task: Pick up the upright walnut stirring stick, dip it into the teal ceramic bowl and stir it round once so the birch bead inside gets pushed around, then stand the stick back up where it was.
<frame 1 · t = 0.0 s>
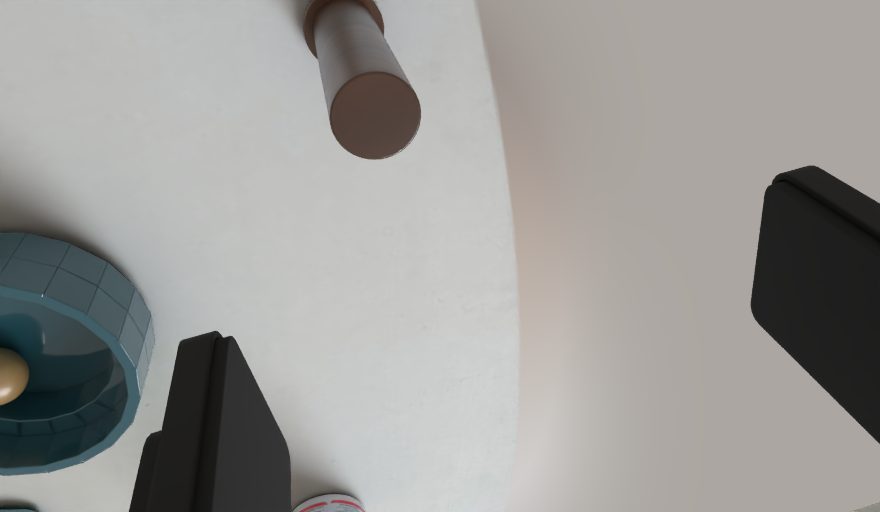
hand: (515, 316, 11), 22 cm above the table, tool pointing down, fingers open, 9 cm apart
bowl: (34, 323, 34), on the table
stirring stick: (343, 26, 29), on the table
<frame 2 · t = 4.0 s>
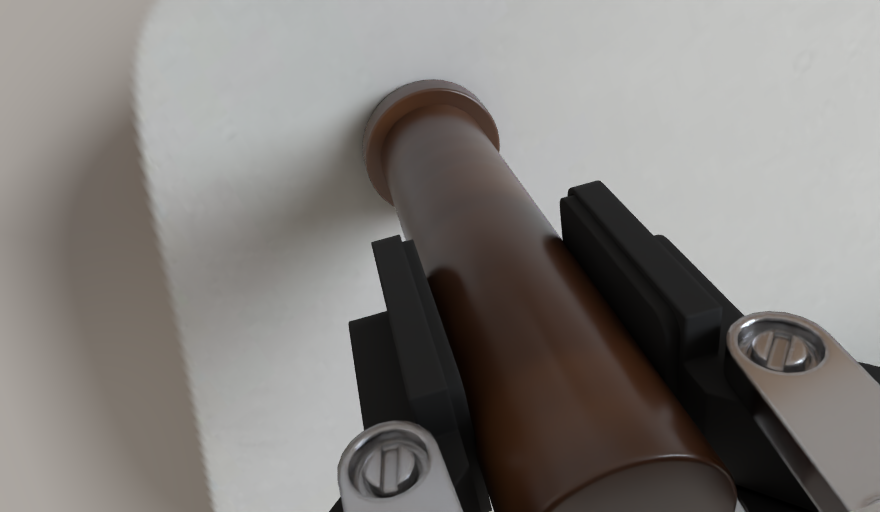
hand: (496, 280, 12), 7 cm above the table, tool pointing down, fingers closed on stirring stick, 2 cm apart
stirring stick: (428, 144, 17), on the table, touching gripper
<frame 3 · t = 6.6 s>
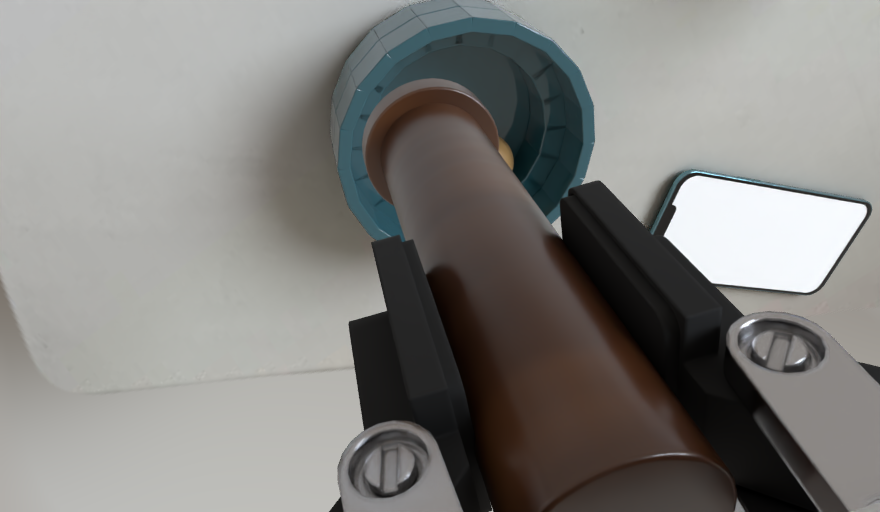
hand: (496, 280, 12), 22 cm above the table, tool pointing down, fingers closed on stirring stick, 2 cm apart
bowl: (446, 117, 33), on the table
smartphone: (751, 234, 42), on the table
stirring stick: (427, 143, 17), point 15 cm above the table, touching gripper
bead: (484, 162, 32), point 2 cm above the table, touching bowl
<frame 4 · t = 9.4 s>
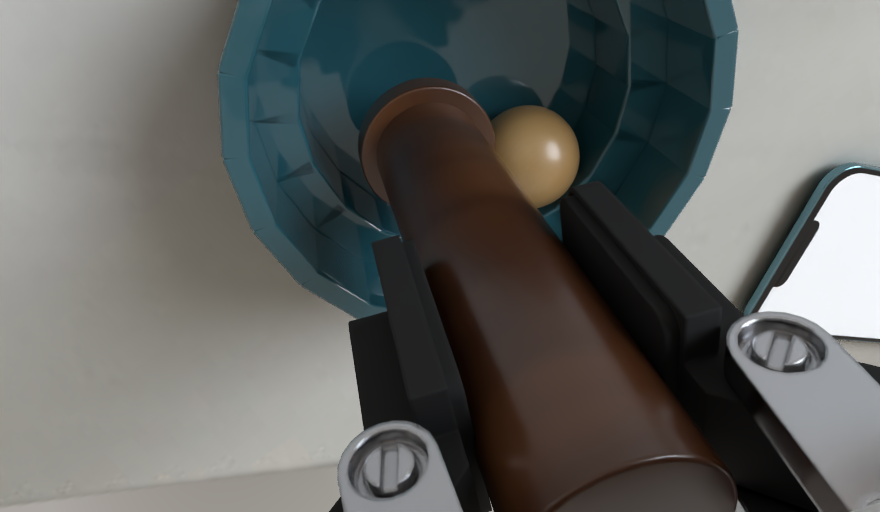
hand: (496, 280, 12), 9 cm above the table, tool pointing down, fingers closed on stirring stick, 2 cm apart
bowl: (448, 70, 19), on the table
stirring stick: (423, 142, 17), point 2 cm above the table, touching bead, gripper
bead: (527, 157, 18), point 2 cm above the table, tilted 18°, touching bowl, stirring stick
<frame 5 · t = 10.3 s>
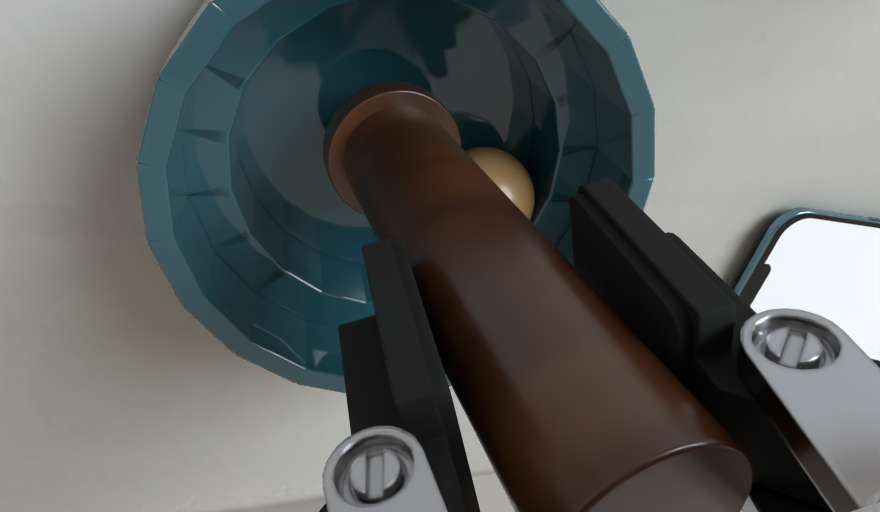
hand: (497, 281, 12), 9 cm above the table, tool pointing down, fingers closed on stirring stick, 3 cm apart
bowl: (388, 131, 19), on the table
smartphone: (877, 300, 28), on the table
stirring stick: (389, 146, 17), point 2 cm above the table, tilted 8°, touching bead, gripper
bead: (483, 198, 19), point 2 cm above the table, tilted 10°, touching bowl, stirring stick
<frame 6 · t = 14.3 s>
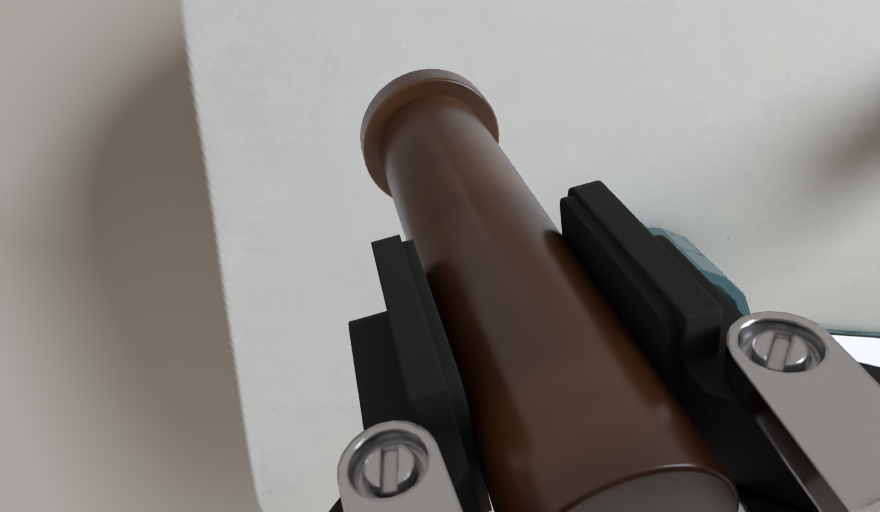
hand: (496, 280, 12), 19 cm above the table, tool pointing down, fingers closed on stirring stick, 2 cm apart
bowl: (612, 306, 40), on the table
smartphone: (847, 369, 49), on the table
stirring stick: (426, 134, 17), point 13 cm above the table, touching gripper
when the fingers open (7 cm above the table, at t = 16.9 s): stirring stick stays where it is, on the table.
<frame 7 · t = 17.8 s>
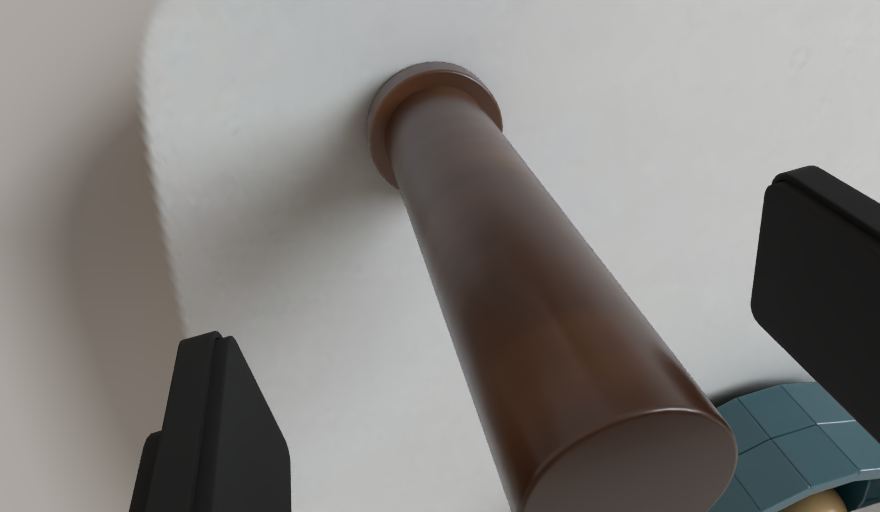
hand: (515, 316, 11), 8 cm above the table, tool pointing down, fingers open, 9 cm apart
bowl: (736, 468, 30), on the table
stirring stick: (431, 127, 17), on the table
bead: (809, 511, 29), point 2 cm above the table, tilted 10°, touching bowl
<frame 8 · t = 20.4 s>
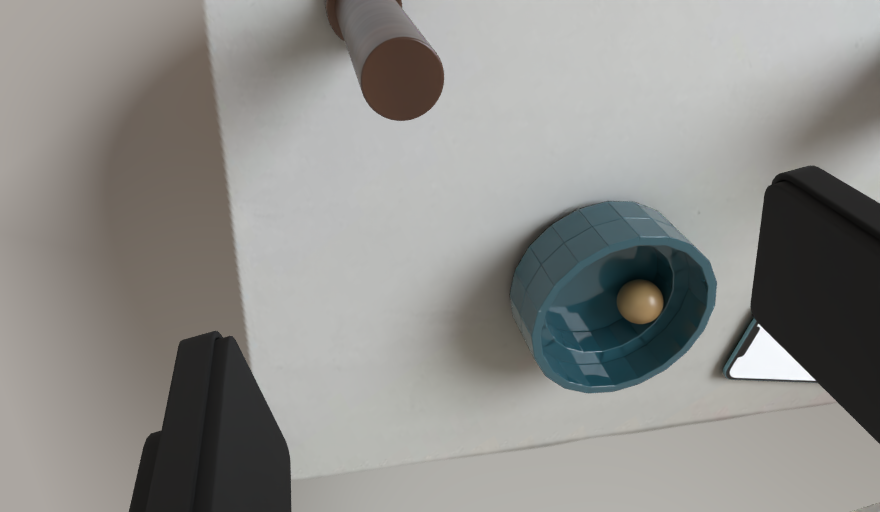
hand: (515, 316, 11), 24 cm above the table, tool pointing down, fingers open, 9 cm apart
bowl: (592, 275, 43), on the table
smartphone: (815, 341, 52), on the table
stirring stick: (363, 6, 31), on the table
bead: (639, 301, 42), point 2 cm above the table, tilted 9°, touching bowl
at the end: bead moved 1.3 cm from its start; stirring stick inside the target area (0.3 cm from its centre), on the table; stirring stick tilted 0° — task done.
